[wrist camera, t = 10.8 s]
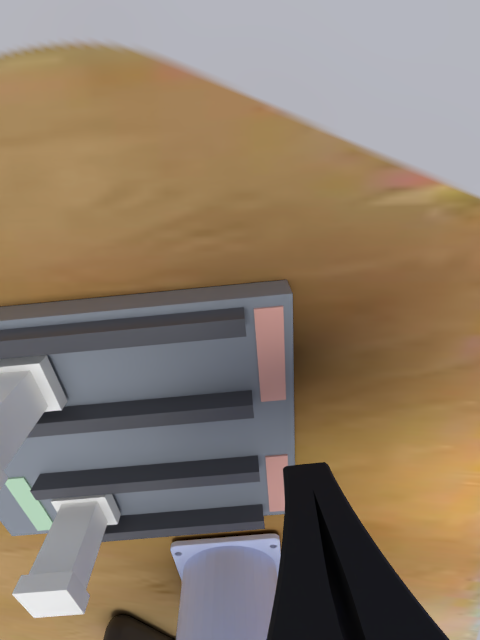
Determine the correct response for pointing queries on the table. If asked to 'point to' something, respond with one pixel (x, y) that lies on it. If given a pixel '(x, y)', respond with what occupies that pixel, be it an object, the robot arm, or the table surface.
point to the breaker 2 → (67, 557)
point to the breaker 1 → (24, 401)
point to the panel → (158, 409)
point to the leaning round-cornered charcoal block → (131, 630)
